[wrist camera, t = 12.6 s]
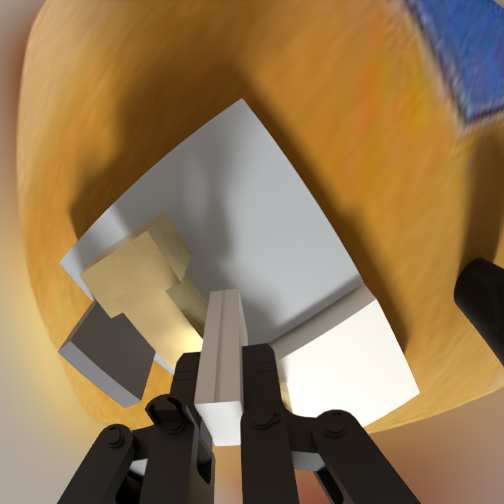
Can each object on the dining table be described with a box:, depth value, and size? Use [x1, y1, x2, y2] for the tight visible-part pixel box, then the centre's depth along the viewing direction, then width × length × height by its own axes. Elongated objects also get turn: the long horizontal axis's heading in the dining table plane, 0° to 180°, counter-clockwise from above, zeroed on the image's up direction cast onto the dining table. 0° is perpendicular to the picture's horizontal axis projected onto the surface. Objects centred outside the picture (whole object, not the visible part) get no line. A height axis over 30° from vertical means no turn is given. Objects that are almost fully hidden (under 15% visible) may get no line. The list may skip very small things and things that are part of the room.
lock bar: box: [79, 211, 293, 413], centre depth 14 cm, size 4×15×3 cm, turn 28°
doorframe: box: [58, 98, 420, 427], centre depth 17 cm, size 15×28×9 cm, turn 36°
